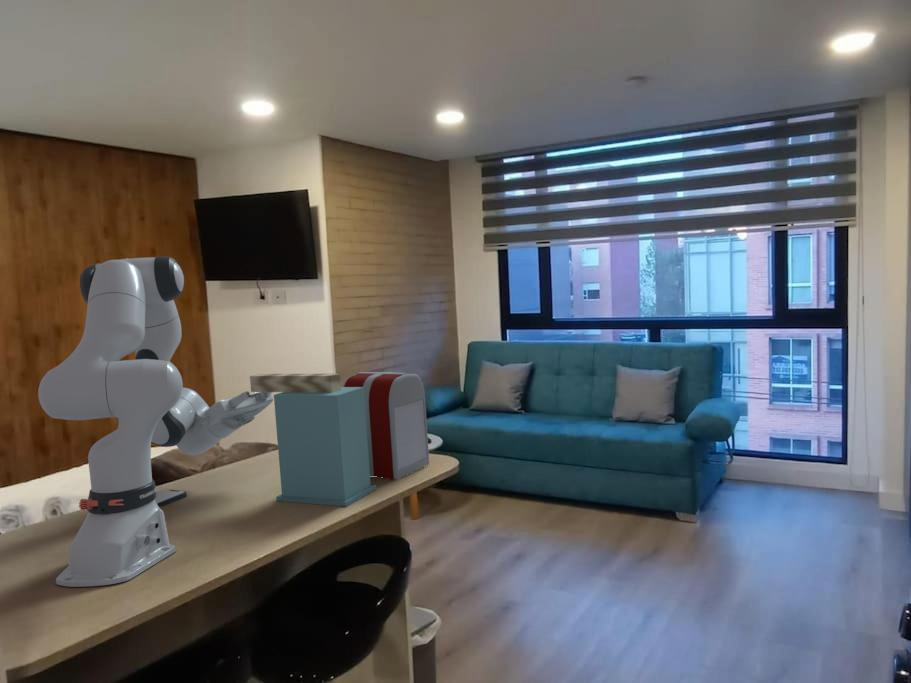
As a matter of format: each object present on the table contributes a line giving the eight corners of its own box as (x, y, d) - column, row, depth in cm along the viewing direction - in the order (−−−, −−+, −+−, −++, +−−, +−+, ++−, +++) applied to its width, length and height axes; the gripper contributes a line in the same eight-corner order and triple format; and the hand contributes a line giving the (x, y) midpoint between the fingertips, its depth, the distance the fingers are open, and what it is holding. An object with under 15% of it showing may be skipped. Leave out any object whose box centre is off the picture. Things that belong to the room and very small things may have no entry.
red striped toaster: (396, 480, 185) (389, 377, 182) (344, 474, 194) (337, 376, 192) (431, 464, 199) (425, 369, 196) (381, 459, 208) (374, 368, 206)
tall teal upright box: (376, 489, 178) (369, 386, 175) (346, 506, 165) (338, 396, 162) (309, 484, 185) (301, 386, 183) (276, 500, 173) (267, 395, 170)
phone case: (137, 518, 167) (189, 497, 182) (136, 512, 167) (188, 491, 181) (111, 515, 171) (165, 494, 185) (111, 508, 171) (164, 488, 185)
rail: (341, 389, 173) (339, 373, 172) (332, 392, 169) (330, 375, 169) (261, 389, 182) (260, 373, 182) (251, 391, 179) (249, 376, 178)
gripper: (190, 414, 176) (226, 386, 171) (244, 400, 195) (278, 374, 189) (202, 436, 175) (238, 409, 170) (255, 420, 194) (289, 395, 189)
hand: (260, 391), depth 180 cm, fingers open, 8 cm apart
